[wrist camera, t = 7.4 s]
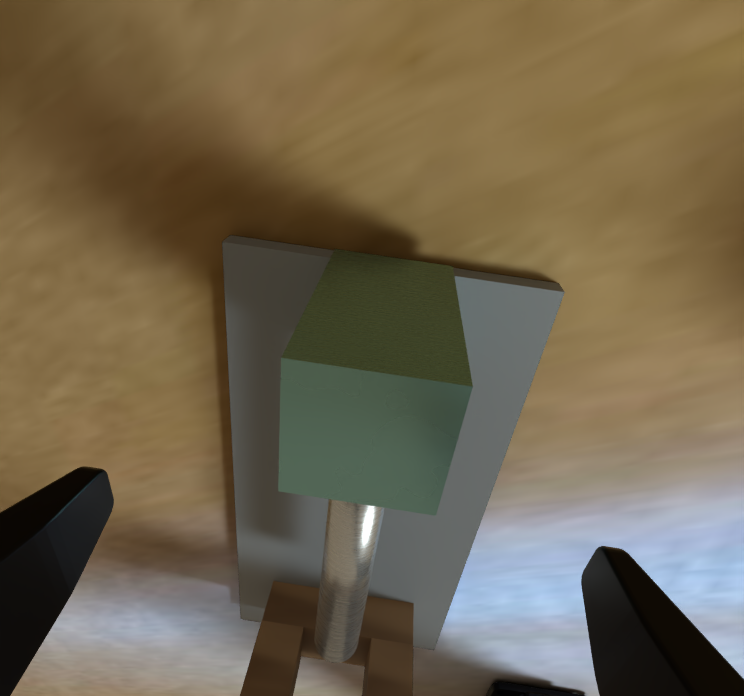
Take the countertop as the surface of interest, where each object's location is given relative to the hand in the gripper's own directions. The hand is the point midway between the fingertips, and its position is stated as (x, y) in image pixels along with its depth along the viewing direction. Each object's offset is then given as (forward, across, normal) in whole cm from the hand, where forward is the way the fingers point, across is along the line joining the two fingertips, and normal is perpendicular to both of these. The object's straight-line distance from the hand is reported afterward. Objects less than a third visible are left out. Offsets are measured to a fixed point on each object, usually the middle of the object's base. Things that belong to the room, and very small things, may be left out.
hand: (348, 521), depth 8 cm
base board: (+10, 0, +11) cm, 15 cm away
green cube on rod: (+9, 0, +7) cm, 12 cm away
